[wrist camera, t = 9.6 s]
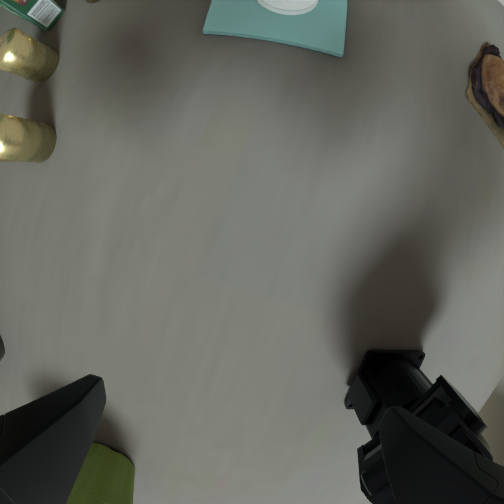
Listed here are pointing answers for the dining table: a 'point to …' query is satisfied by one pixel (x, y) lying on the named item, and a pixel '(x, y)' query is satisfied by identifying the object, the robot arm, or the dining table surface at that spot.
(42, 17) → the coffee box
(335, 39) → the felt pad
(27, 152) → the cylinder
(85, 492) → the plant pot
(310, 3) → the chess piece
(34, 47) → the cylinder
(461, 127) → the dining table surface
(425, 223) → the dining table surface
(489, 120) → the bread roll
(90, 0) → the cylinder
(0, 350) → the coffee cup
